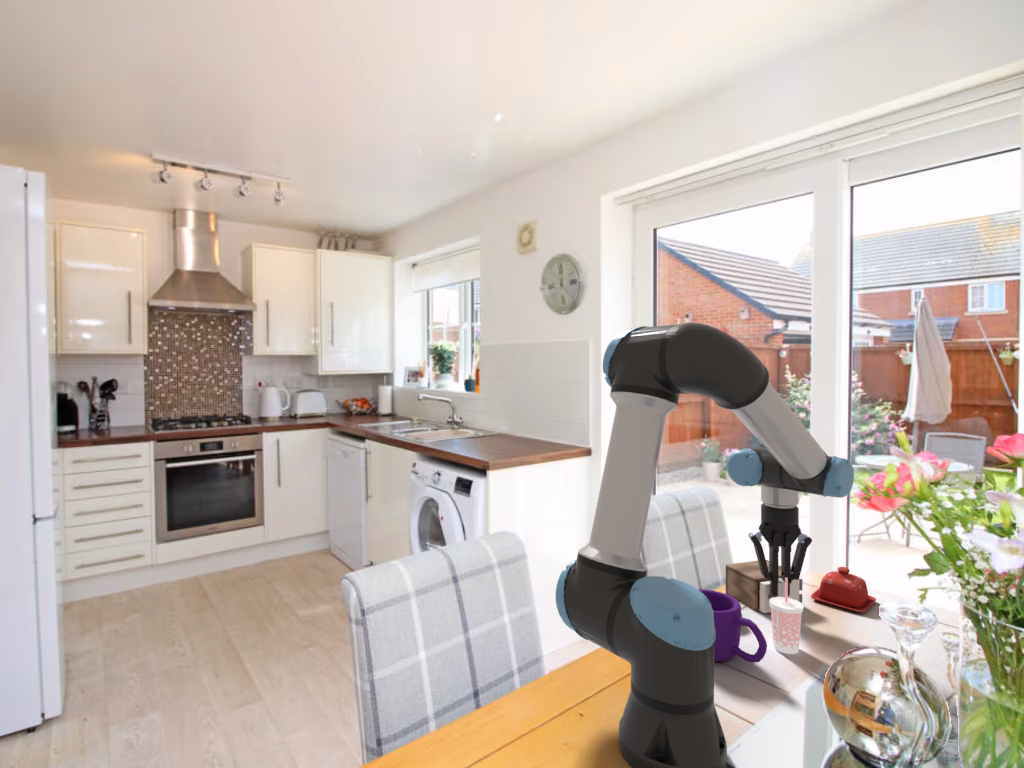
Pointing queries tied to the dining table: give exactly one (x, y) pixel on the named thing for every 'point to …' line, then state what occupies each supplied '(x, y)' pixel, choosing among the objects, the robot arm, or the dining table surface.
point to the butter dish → (844, 591)
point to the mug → (732, 628)
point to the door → (767, 595)
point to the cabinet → (746, 582)
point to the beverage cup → (786, 622)
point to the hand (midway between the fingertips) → (780, 609)
